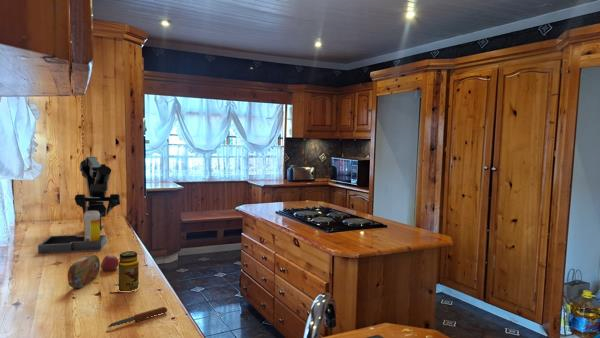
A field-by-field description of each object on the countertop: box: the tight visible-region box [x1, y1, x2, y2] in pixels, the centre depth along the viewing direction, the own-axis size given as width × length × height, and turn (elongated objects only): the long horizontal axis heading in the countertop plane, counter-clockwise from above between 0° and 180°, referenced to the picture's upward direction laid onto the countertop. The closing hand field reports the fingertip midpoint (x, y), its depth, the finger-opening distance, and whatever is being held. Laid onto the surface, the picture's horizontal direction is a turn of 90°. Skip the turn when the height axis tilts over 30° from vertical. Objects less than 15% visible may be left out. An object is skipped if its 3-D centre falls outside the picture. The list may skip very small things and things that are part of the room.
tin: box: [67, 254, 101, 289], centre depth 130 cm, size 15×3×8 cm, turn 179°
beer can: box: [83, 211, 101, 241], centre depth 170 cm, size 6×6×15 cm
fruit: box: [100, 254, 120, 272], centre depth 144 cm, size 6×6×8 cm
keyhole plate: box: [37, 234, 108, 255], centre depth 168 cm, size 15×23×4 cm, turn 107°
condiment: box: [114, 250, 142, 291], centre depth 126 cm, size 7×8×12 cm
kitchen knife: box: [107, 306, 168, 328], centre depth 106 cm, size 16×1×2 cm, turn 132°
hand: (95, 214), depth 176 cm, fingers open, 9 cm apart
